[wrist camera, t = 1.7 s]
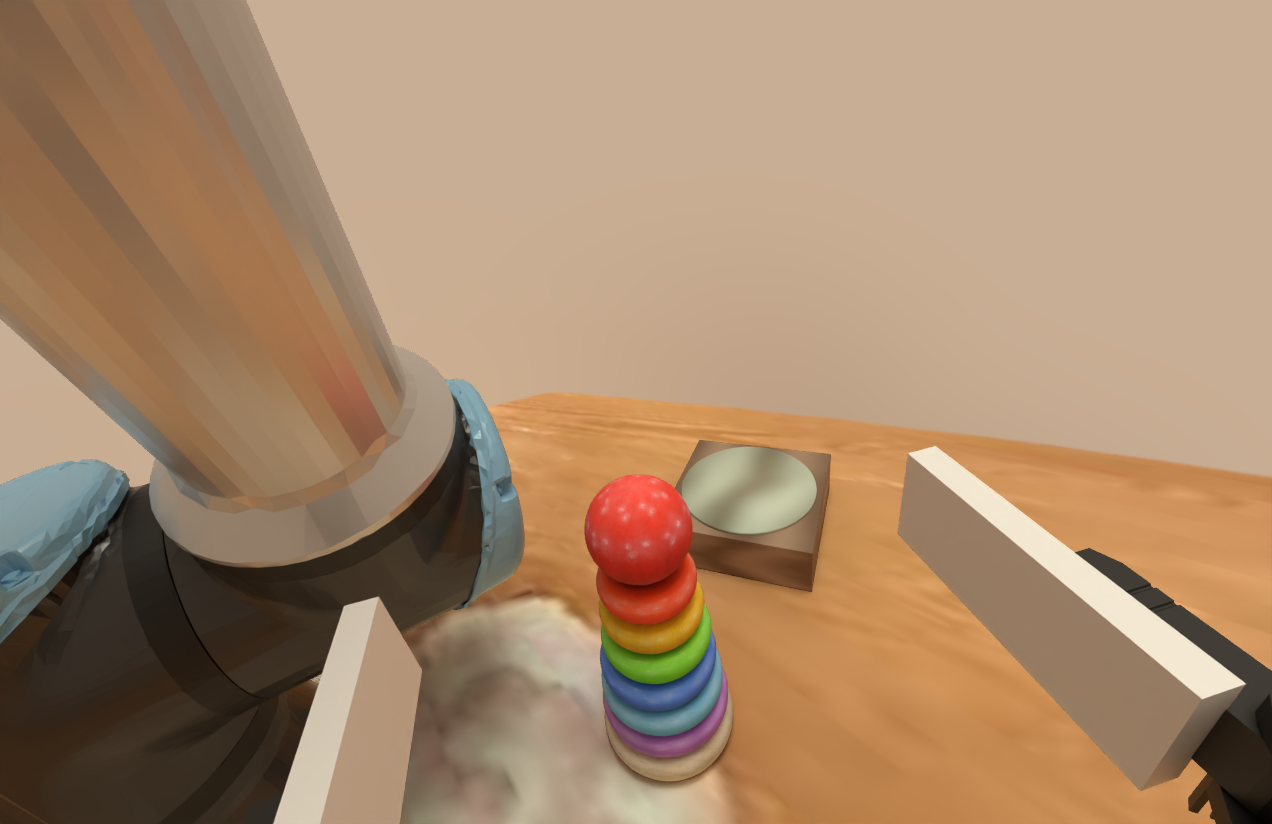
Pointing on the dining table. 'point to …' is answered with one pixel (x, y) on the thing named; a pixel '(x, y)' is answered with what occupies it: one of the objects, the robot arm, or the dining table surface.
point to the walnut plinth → (756, 511)
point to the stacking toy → (655, 633)
